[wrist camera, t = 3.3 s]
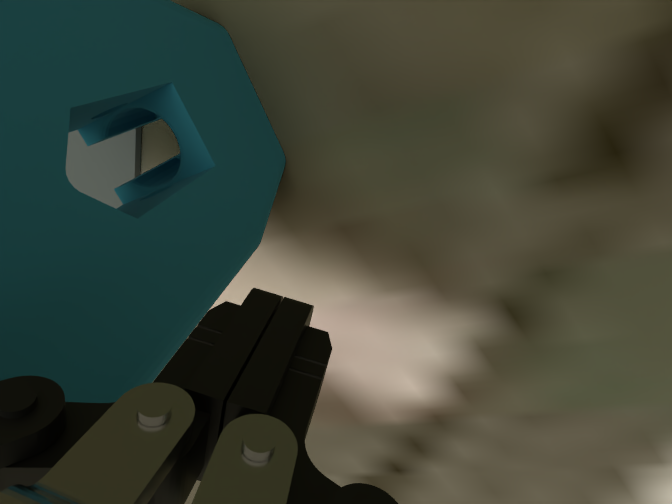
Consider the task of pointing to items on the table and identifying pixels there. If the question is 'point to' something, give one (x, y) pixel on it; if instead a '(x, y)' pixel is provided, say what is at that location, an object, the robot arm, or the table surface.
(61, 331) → the block
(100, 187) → the mat
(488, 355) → the table surface
